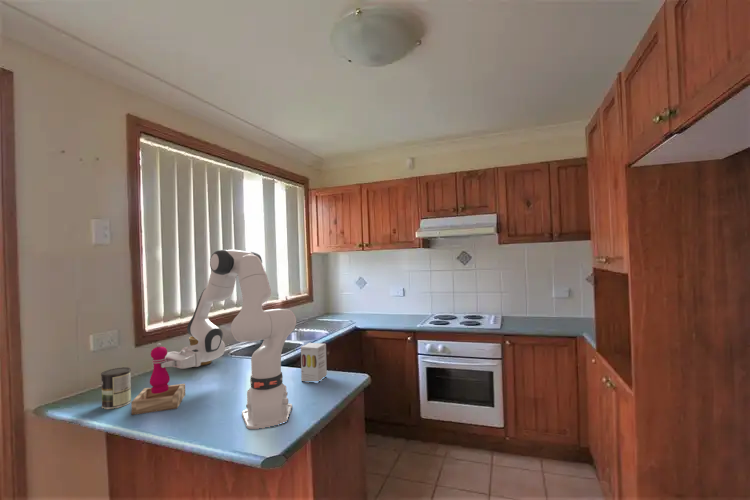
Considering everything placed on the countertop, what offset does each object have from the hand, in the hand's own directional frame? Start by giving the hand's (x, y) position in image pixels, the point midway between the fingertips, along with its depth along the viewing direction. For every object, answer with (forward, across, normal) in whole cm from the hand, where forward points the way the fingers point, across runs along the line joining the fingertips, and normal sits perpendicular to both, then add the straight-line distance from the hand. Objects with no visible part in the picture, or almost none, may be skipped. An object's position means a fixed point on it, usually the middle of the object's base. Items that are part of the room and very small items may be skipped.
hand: (157, 364), depth 153 cm
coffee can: (+9, -17, +17) cm, 25 cm away
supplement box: (-54, +37, +17) cm, 68 cm away
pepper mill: (-1, 0, +12) cm, 12 cm away
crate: (-1, 0, +17) cm, 17 cm away
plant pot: (-45, -41, +17) cm, 63 cm away
